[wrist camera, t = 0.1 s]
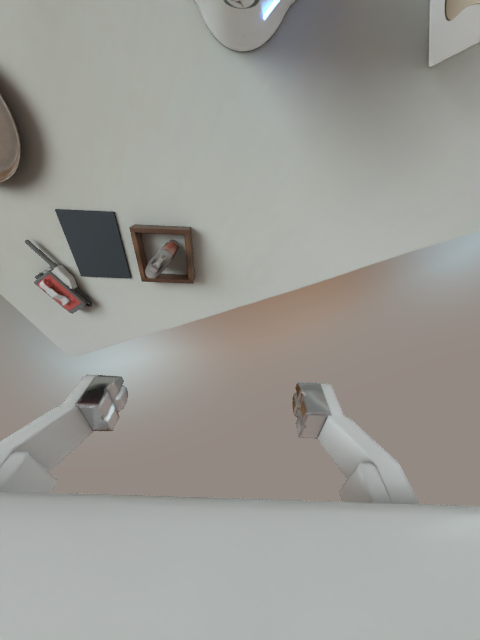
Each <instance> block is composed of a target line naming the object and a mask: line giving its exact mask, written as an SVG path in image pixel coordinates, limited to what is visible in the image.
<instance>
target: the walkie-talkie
mask: <svg viewBox="0 0 480 640" xmlns="http://www.w3.org/2000/svg"><path fill="white" fill-rule="evenodd" d="M25 243H26V244H27V245H28V246H30V247H31V248H32V249H33V250H34V251H35V252H36V253H37V254H38V255H39V256H41V257H42V258H43V259H44V260H45V261H46V262H47V263H48V264H49V265H50V266H51V267H50V268H48V269H49V271H47V270H45V271H43V272H44V274H43V273H40V274H38V275H37V276H35V278H36V279H37V278H38V279H37V280H36V281H35V282H34V283H35V284H36V285H37V286H38V287H40V288H41V289H42V290H43V291H44V292H46V293H47V294H48V295H49V296H51V297H52V298H53V299H54V300H55V301H57V302H58V303H59V304H60V305H61V306H62V307H64V308H65V309H66V310H67V311H68V312H70V313H72V314H73V313H74V312H76V311H77V310H79V309H81V308H82V307H84V306H85V305H87V306H88V307H90V306H92V305H93V304H92V302H91V301H90V299H89V298H88V297H87V296H86V295H85V294H84V293H83V292H82V291H81V290H80V289H78V288H77V284H76V281H75V278H74V277H73V276H72V275H71V274H70V273H69V272H68V271H67V270H66V269H65V268H64V267H63V266H62V265H60V266H58V265H57V264H56V263H54V262H53V261H51V260H50V259H49V258H48V257H47V256H46V255H45V254H44V253H43V252H42V251H41V250H40V249H38V248H37V247H35V246H34V245H33V244H32V243H31V242H30V241H29V240H25ZM88 303H89V304H88Z"/></svg>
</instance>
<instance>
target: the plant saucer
mask: <svg viewBox="0 0 480 640" xmlns="http://www.w3.org/2000/svg"><path fill="white" fill-rule="evenodd" d="M20 158H21V141H20V136H19V131H18V128H17V125H16V122H15V119H14V117H13V115H12V113H11V111H10V109H9V107H8V105H7V103H6V101H5V100H4V98H3V96H2V95H1V93H0V183H1V182H4V181H6V180H8V179H9V178H10V177H11V176H12V175H13V174H14V173H15V171H16V170H17V168H18V165H19V162H20Z"/></svg>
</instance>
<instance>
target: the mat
mask: <svg viewBox="0 0 480 640" xmlns="http://www.w3.org/2000/svg"><path fill="white" fill-rule="evenodd" d="M55 211H56V213H57V216H58V218H59V221H60V224H61V226H62V229H63V231H64V234H65V236H66V239H67V241H68V244H69V246H70V249H71V251H72V254H73V256H74V259H75V262H76V264H77V267H78V269H79V272H80V274H81V276H87V277H111V278H131V275H130V271H129V267H128V263H127V259H126V255H125V252H124V248H123V244H122V240H121V236H120V232H119V228H118V224H117V221H116V217H115V213H114V212H105V211H83V210H61V209H55Z"/></svg>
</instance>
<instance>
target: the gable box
mask: <svg viewBox="0 0 480 640" xmlns="http://www.w3.org/2000/svg"><path fill="white" fill-rule="evenodd" d="M479 42H480V0H430V24H429V67H432V66H434V65H436V64H438V63H440V62H442V61H444V60H446V59H448V58H450V57H452V56H454V55H455V54H457V53H459V52H461V51H463V50H465V49H467V48H469V47H471V46H473V45H475V44H477V43H479Z"/></svg>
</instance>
